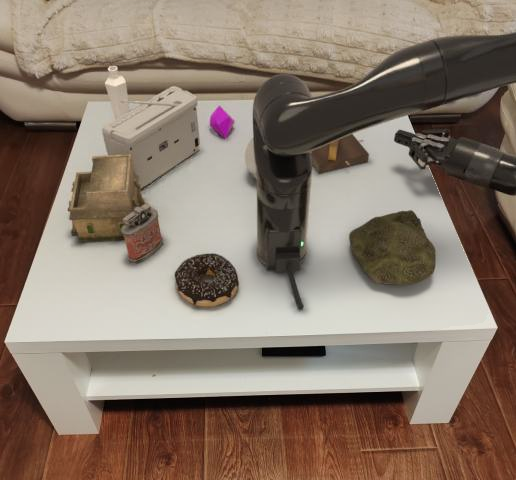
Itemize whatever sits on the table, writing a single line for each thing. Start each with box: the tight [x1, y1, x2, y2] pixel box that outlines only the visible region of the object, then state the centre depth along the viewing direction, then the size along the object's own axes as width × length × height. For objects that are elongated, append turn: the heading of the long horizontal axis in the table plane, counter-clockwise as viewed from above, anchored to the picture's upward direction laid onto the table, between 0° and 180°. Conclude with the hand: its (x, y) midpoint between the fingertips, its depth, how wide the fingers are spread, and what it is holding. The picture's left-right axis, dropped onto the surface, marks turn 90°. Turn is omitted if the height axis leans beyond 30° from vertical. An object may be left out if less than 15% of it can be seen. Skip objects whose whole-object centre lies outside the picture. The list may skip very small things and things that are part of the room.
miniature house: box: [67, 154, 147, 244], centre depth 110 cm, size 15×14×11 cm
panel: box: [310, 133, 370, 174], centre depth 127 cm, size 14×14×2 cm
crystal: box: [209, 105, 235, 139], centre depth 132 cm, size 5×5×5 cm
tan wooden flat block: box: [328, 139, 340, 161], centre depth 123 cm, size 10×2×7 cm, turn 168°
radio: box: [101, 85, 201, 190], centre depth 118 cm, size 21×8×20 cm, turn 141°
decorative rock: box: [348, 209, 437, 286], centre depth 103 cm, size 15×16×10 cm
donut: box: [174, 252, 240, 308], centre depth 102 cm, size 11×12×4 cm
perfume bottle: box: [104, 65, 131, 119], centre depth 128 cm, size 5×4×15 cm
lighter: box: [121, 202, 164, 265], centre depth 105 cm, size 8×3×10 cm, turn 141°
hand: (396, 135), depth 118 cm, fingers closed
